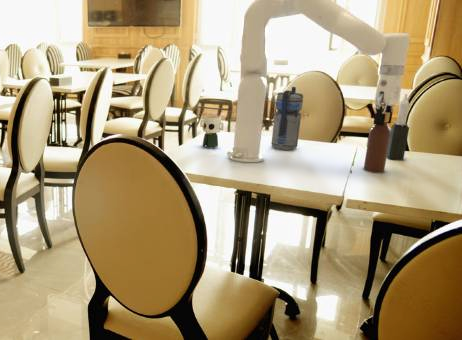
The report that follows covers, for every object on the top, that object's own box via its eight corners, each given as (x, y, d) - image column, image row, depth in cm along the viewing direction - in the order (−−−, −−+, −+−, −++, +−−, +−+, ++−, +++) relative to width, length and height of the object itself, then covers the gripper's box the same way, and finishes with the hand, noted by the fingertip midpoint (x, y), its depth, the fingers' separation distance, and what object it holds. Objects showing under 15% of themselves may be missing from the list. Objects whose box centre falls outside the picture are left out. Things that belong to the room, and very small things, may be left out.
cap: (374, 121, 177) (376, 112, 176) (376, 119, 180) (377, 110, 179) (387, 122, 175) (389, 113, 174) (389, 121, 178) (390, 112, 177)
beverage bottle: (265, 149, 211) (272, 88, 205) (275, 144, 222) (282, 85, 215) (291, 153, 205) (299, 90, 199) (300, 147, 216) (307, 87, 209)
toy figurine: (194, 146, 215) (196, 115, 211) (203, 144, 220) (205, 113, 216) (217, 151, 207) (219, 119, 204) (226, 148, 212) (228, 117, 209)
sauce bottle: (383, 173, 178) (393, 116, 173) (362, 170, 181) (372, 114, 176) (384, 169, 183) (394, 114, 178) (364, 166, 186) (373, 112, 181)
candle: (389, 159, 198) (401, 94, 191) (385, 156, 202) (396, 92, 196) (404, 160, 196) (416, 95, 190) (399, 157, 201) (411, 93, 194)
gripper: (393, 72, 165) (384, 128, 169) (412, 70, 176) (402, 122, 180) (369, 71, 170) (360, 125, 175) (388, 69, 181) (380, 119, 186)
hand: (382, 123), depth 178 cm, fingers open, 5 cm apart
